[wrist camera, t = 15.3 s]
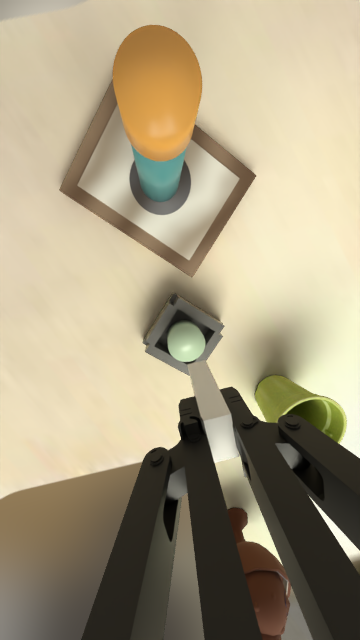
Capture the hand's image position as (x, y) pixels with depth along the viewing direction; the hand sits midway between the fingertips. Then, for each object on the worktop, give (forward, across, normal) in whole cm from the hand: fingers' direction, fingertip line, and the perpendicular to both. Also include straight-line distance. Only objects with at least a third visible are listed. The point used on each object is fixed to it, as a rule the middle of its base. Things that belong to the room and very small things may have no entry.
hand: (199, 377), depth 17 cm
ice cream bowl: (+14, +1, -38) cm, 40 cm away
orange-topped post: (+12, +1, +19) cm, 22 cm away
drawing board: (+13, +1, +18) cm, 23 cm away
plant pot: (+14, +12, -13) cm, 22 cm away
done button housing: (+13, 0, 0) cm, 13 cm away
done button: (+11, 0, 0) cm, 11 cm away
